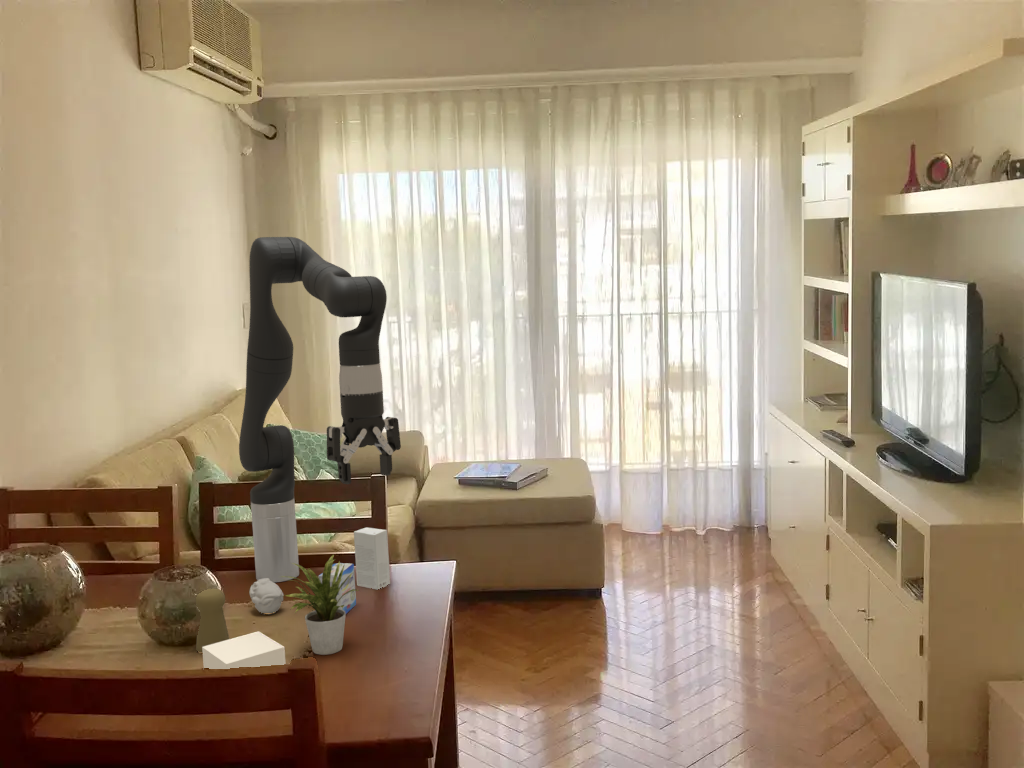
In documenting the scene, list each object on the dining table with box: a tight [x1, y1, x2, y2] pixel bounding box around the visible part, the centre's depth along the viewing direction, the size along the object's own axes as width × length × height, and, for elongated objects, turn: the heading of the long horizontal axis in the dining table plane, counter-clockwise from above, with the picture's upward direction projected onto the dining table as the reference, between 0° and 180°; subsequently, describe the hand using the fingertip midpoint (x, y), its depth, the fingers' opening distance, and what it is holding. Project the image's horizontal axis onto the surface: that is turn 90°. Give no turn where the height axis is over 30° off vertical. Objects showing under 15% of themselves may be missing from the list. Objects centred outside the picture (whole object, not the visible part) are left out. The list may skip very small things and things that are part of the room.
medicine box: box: [317, 562, 357, 615], centre depth 186 cm, size 8×4×9 cm, turn 168°
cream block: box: [202, 630, 287, 669], centre depth 158 cm, size 10×10×5 cm
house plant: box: [282, 554, 360, 656], centre depth 168 cm, size 14×14×16 cm
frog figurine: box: [249, 578, 285, 614], centre depth 186 cm, size 6×7×7 cm
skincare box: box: [353, 527, 391, 591], centre depth 201 cm, size 6×4×12 cm
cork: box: [195, 587, 230, 653], centre depth 169 cm, size 6×6×11 cm
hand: (366, 479), depth 170 cm, fingers open, 8 cm apart
